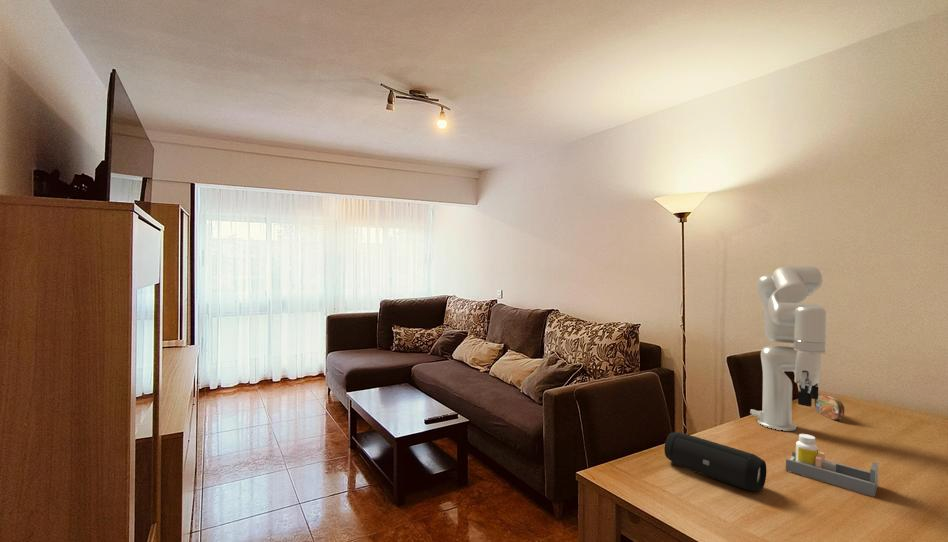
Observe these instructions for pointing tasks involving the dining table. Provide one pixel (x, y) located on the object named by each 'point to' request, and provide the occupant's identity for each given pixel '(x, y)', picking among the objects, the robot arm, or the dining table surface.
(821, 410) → the multicoloured flat oval piece
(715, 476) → the portable speaker
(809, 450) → the supplement bottle
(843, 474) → the pusher lane
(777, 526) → the dining table surface
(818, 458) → the spring paddle
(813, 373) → the robot arm
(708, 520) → the dining table surface
